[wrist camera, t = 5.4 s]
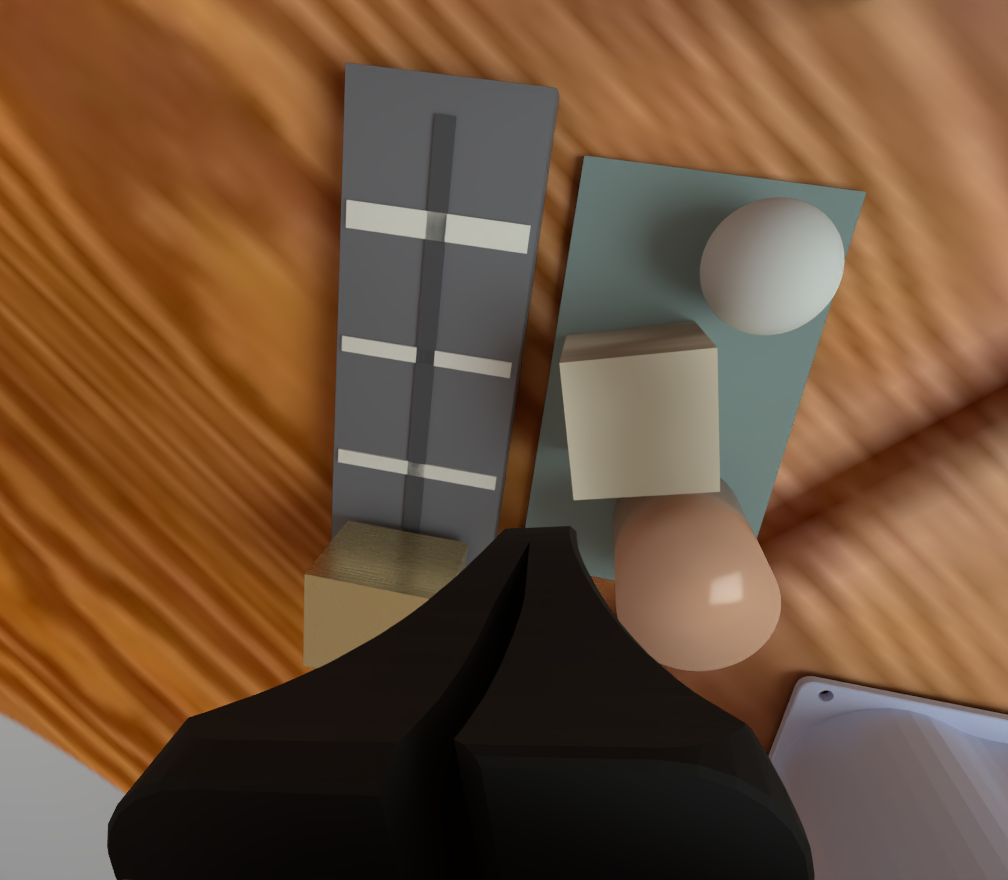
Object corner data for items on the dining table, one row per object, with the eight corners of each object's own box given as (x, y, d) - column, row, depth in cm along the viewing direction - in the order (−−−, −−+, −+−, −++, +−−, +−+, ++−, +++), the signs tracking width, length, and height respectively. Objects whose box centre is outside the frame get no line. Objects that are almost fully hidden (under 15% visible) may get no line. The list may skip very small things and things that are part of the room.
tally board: (559, 95, 18) (556, 87, 17) (484, 628, 25) (478, 649, 24) (360, 71, 19) (344, 61, 17) (340, 599, 25) (327, 618, 24)
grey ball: (835, 207, 18) (889, 206, 14) (797, 331, 19) (839, 357, 16) (707, 190, 18) (732, 186, 15) (679, 313, 19) (695, 335, 16)
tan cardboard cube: (468, 543, 22) (445, 602, 18) (458, 625, 23) (435, 693, 20) (347, 520, 22) (304, 574, 19) (344, 601, 23) (303, 665, 20)
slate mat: (862, 192, 18) (866, 192, 17) (734, 598, 23) (735, 603, 23) (584, 156, 18) (584, 155, 18) (520, 558, 24) (519, 562, 23)
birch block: (694, 321, 19) (717, 347, 16) (698, 441, 21) (720, 491, 17) (566, 334, 20) (558, 363, 16) (578, 450, 21) (573, 500, 18)
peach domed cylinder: (756, 476, 21) (802, 552, 16) (723, 586, 22) (756, 684, 18) (625, 453, 21) (633, 522, 17) (602, 563, 23) (602, 654, 18)
